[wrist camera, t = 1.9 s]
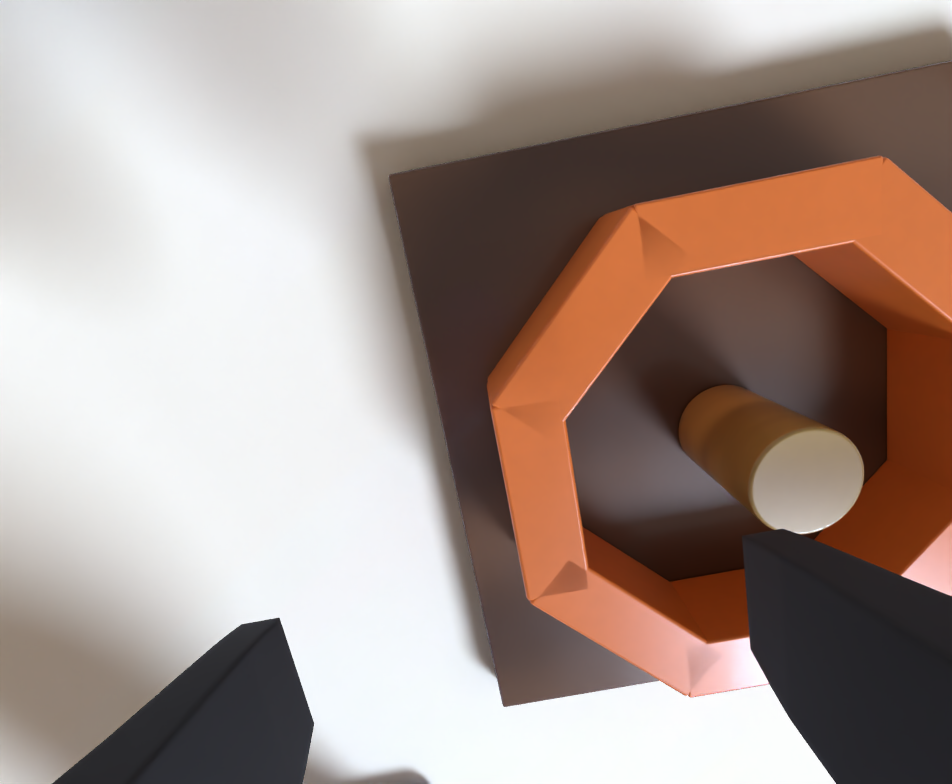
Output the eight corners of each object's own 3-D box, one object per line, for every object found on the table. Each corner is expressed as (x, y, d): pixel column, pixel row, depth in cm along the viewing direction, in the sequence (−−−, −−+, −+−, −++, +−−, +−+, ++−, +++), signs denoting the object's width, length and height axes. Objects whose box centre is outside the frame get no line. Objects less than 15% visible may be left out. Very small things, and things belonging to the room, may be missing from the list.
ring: (940, 580, 16) (1030, 641, 13) (537, 650, 16) (550, 722, 14) (951, 145, 13) (1069, 117, 10) (459, 242, 13) (457, 238, 11)
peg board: (955, 605, 17) (1136, 733, 12) (501, 683, 18) (513, 836, 13) (974, 62, 13) (1247, -44, 9) (393, 180, 14) (355, 139, 9)
